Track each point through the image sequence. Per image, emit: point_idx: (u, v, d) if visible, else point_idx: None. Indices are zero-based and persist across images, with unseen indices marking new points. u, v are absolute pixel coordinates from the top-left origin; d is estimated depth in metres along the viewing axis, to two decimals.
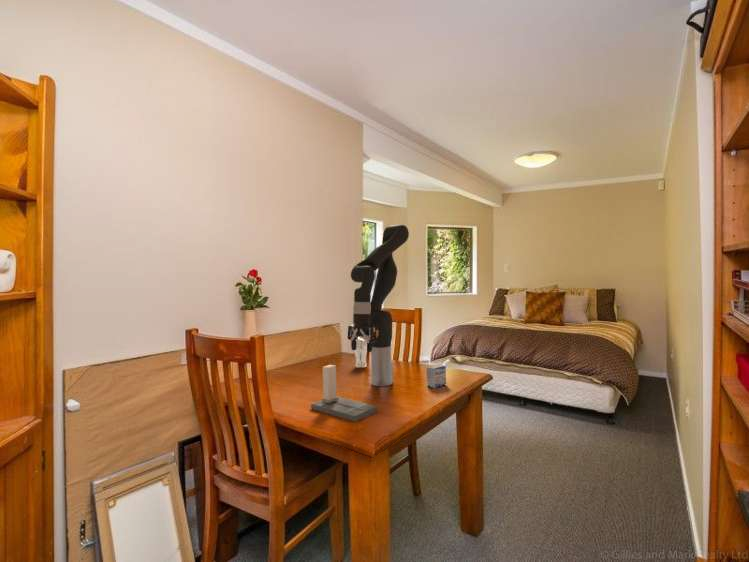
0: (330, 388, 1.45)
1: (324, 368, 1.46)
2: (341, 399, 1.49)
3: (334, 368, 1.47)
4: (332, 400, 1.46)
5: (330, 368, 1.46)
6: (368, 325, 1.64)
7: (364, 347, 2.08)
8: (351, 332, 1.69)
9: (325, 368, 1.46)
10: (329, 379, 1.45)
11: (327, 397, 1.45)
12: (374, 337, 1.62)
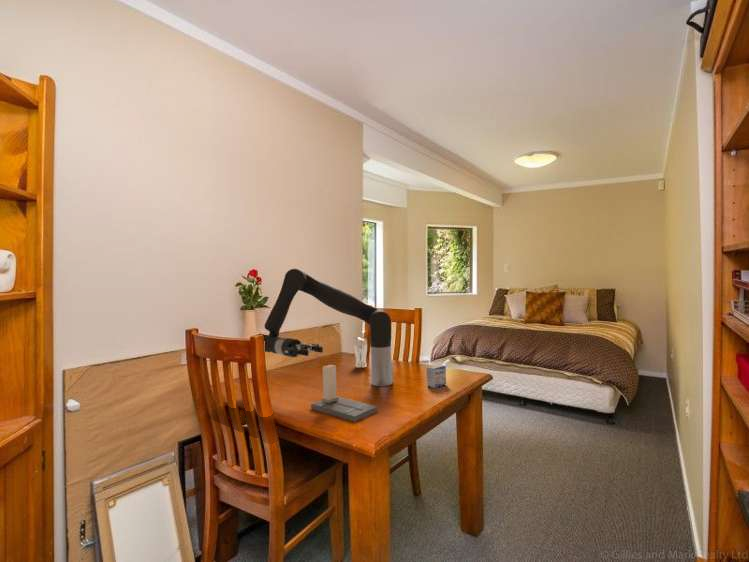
0: (330, 388, 1.45)
1: (324, 368, 1.46)
2: (341, 399, 1.49)
3: (334, 368, 1.47)
4: (332, 400, 1.46)
5: (330, 368, 1.46)
6: None
7: (364, 347, 2.08)
8: (312, 347, 1.61)
9: (325, 368, 1.46)
10: (329, 379, 1.45)
11: (327, 397, 1.45)
12: None
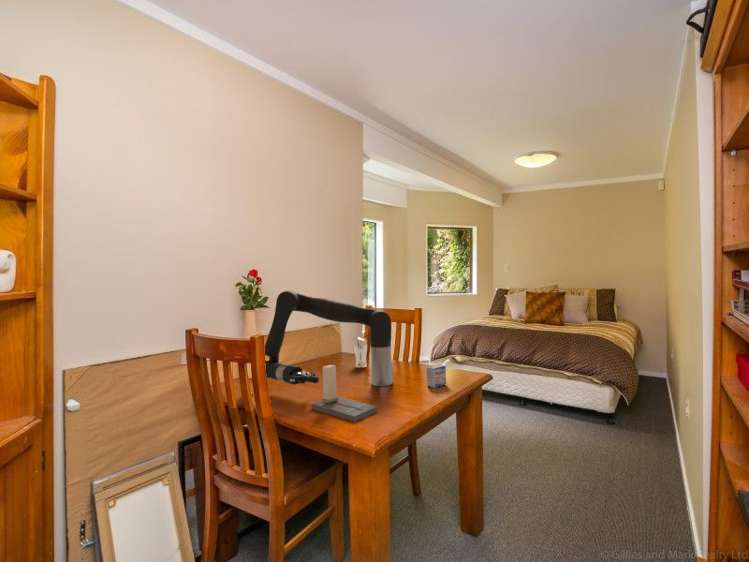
0: (330, 388, 1.45)
1: (324, 368, 1.46)
2: (341, 399, 1.49)
3: (334, 368, 1.47)
4: (332, 400, 1.46)
5: (330, 368, 1.46)
6: (289, 377, 1.56)
7: (364, 347, 2.08)
8: None
9: (325, 368, 1.46)
10: (329, 379, 1.45)
11: (327, 397, 1.45)
12: None
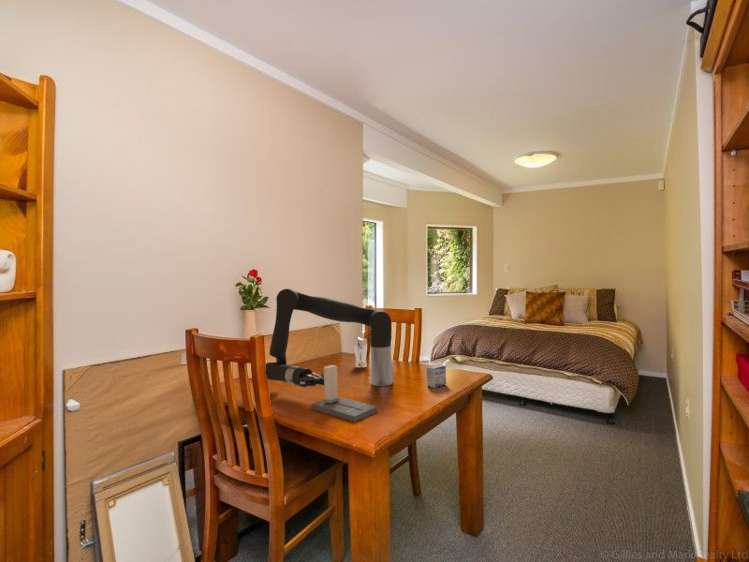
0: (331, 388, 1.45)
1: (325, 368, 1.45)
2: (341, 399, 1.49)
3: (335, 368, 1.47)
4: (333, 400, 1.45)
5: (331, 368, 1.45)
6: (299, 380, 1.53)
7: (364, 347, 2.08)
8: None
9: (326, 368, 1.45)
10: (330, 379, 1.45)
11: (328, 397, 1.45)
12: None
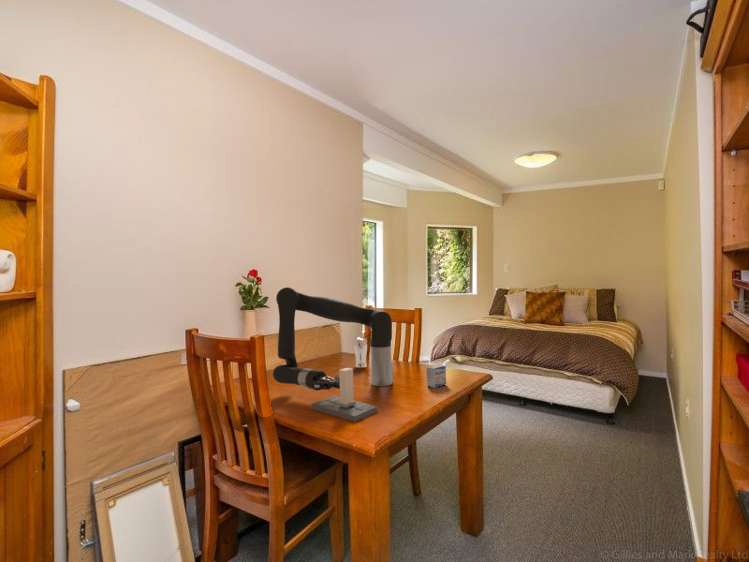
0: (347, 392, 1.40)
1: (341, 371, 1.40)
2: None
3: (351, 371, 1.42)
4: (349, 404, 1.40)
5: (347, 371, 1.40)
6: (313, 383, 1.48)
7: (364, 347, 2.08)
8: None
9: (342, 371, 1.40)
10: (346, 382, 1.39)
11: (344, 401, 1.40)
12: None
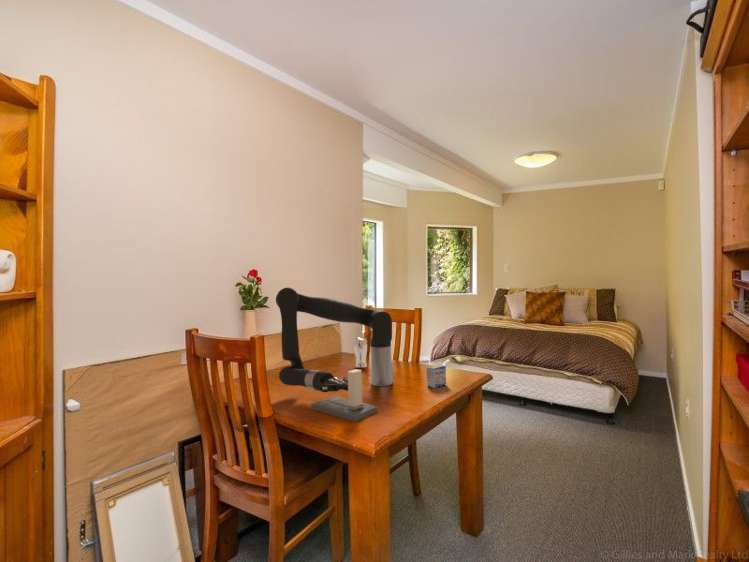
0: (356, 394, 1.37)
1: (349, 373, 1.38)
2: (341, 399, 1.49)
3: (359, 373, 1.39)
4: (358, 407, 1.37)
5: (356, 373, 1.37)
6: (321, 385, 1.45)
7: (364, 347, 2.08)
8: None
9: (350, 373, 1.37)
10: (355, 384, 1.37)
11: (353, 404, 1.37)
12: None
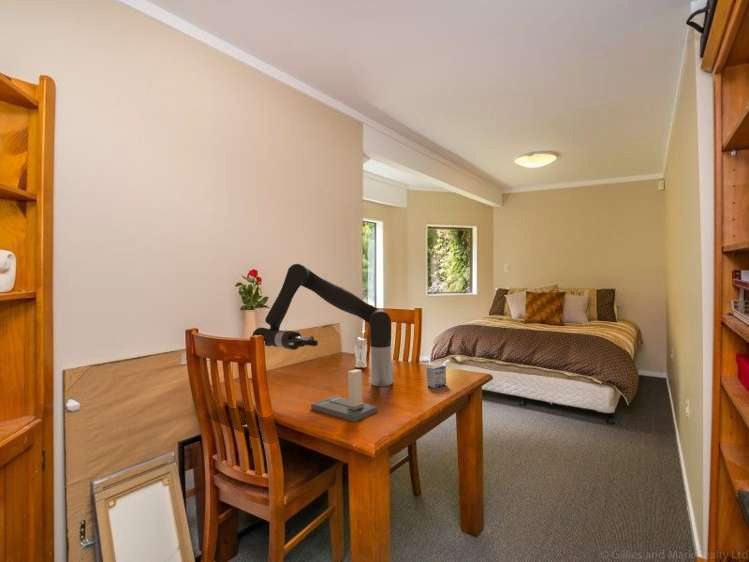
0: (356, 394, 1.37)
1: (349, 373, 1.38)
2: (341, 399, 1.49)
3: (360, 373, 1.39)
4: (358, 407, 1.37)
5: (356, 373, 1.37)
6: (288, 342, 1.56)
7: (364, 347, 2.08)
8: None
9: (351, 373, 1.37)
10: (355, 384, 1.37)
11: (353, 404, 1.37)
12: None
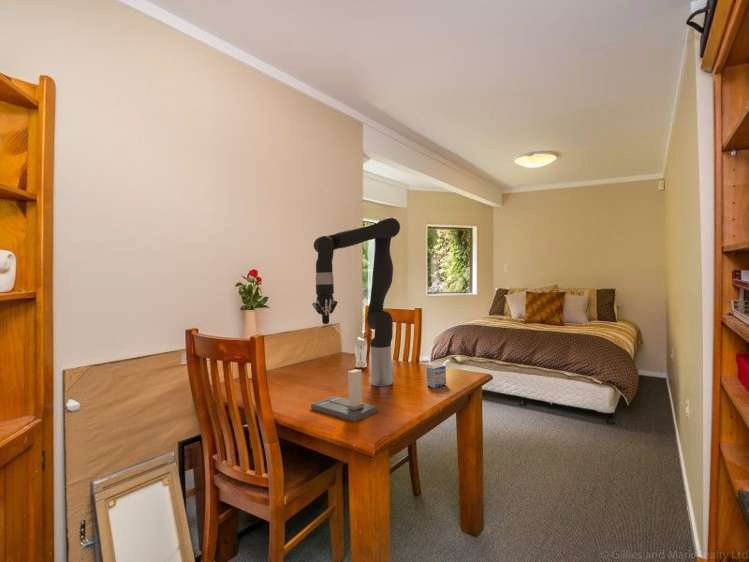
0: (356, 394, 1.37)
1: (349, 373, 1.38)
2: (341, 399, 1.49)
3: (360, 373, 1.39)
4: (358, 407, 1.37)
5: (356, 373, 1.37)
6: (318, 296, 1.63)
7: (364, 347, 2.08)
8: (331, 306, 1.69)
9: (351, 373, 1.37)
10: (355, 384, 1.37)
11: (353, 404, 1.37)
12: None
